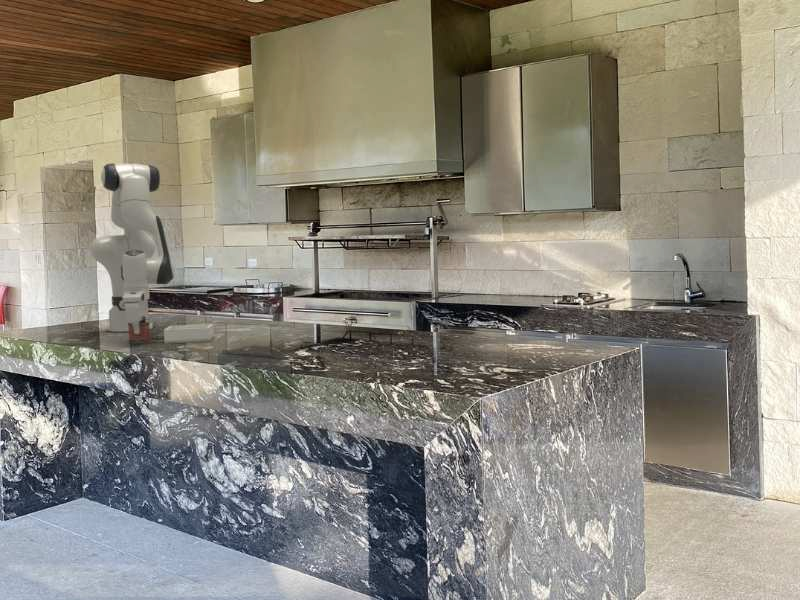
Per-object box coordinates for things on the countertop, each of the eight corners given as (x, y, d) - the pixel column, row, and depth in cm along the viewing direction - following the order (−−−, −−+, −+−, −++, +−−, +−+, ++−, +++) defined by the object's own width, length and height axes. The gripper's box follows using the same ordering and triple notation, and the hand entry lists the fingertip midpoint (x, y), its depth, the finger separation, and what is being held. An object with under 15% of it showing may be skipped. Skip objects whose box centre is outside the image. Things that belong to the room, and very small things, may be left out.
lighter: (152, 341, 312) (150, 314, 311) (148, 343, 309) (146, 315, 308) (131, 342, 313) (129, 315, 312) (127, 343, 310) (125, 316, 309)
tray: (170, 339, 318) (169, 325, 317) (214, 337, 319) (213, 323, 319) (164, 343, 306) (163, 329, 305) (209, 341, 307) (209, 327, 307)
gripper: (134, 293, 319) (136, 329, 321) (121, 297, 299) (123, 336, 301) (151, 292, 320) (153, 328, 321) (139, 297, 300) (142, 336, 301)
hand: (139, 332), depth 311 cm, fingers open, 5 cm apart
